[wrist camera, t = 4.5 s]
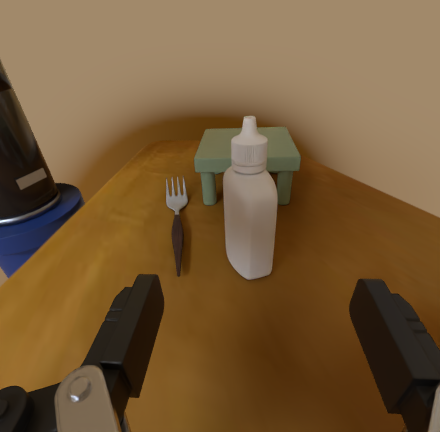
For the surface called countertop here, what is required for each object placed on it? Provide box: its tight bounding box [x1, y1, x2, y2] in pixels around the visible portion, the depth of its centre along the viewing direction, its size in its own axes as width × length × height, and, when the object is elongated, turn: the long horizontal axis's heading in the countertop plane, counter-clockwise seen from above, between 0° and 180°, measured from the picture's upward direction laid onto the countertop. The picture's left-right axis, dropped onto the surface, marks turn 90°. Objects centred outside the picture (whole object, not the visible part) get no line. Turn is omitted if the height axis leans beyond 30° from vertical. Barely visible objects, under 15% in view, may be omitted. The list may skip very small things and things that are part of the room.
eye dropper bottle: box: [223, 116, 278, 280], centre depth 20 cm, size 4×6×12 cm
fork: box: [166, 176, 188, 276], centre depth 27 cm, size 3×16×2 cm, turn 9°
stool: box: [194, 127, 301, 205], centre depth 33 cm, size 11×11×6 cm
